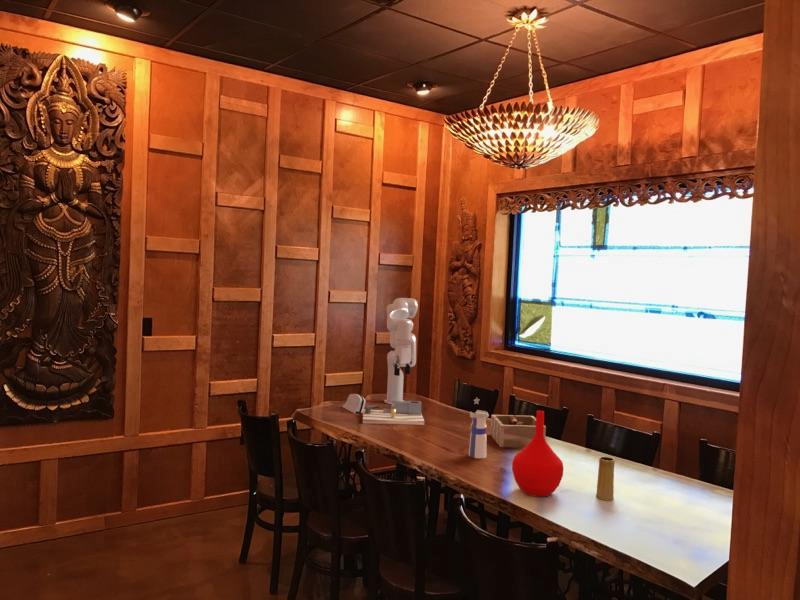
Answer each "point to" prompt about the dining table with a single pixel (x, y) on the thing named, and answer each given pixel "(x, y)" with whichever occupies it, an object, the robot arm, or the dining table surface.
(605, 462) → the vase
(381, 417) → the board
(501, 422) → the box
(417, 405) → the link
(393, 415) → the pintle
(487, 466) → the dining table surface
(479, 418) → the water bottle
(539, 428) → the vase
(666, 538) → the dining table surface
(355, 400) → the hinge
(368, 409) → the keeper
